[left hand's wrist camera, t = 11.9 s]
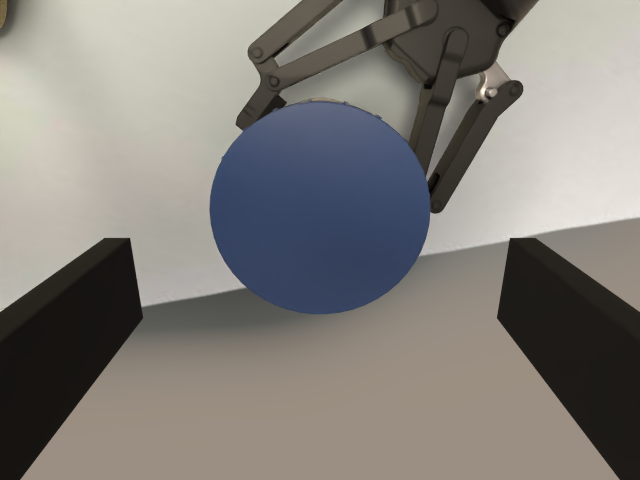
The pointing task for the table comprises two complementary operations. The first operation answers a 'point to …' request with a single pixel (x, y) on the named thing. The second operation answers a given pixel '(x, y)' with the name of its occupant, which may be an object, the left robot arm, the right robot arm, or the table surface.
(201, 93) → the table surface
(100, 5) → the table surface
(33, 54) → the table surface
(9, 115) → the table surface
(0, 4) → the sculpture
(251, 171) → the lid
